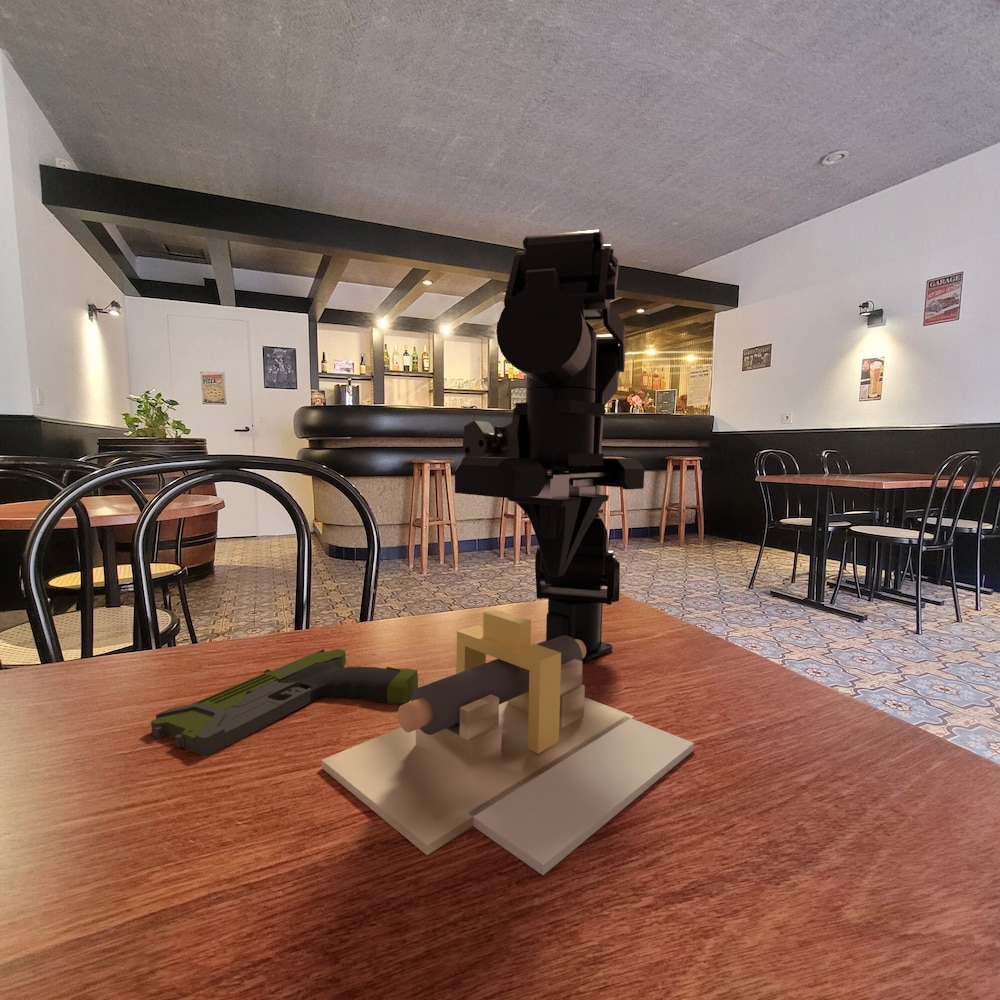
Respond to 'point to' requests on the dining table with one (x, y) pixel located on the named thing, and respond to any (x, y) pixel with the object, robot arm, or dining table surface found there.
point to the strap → (514, 646)
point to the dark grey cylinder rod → (474, 689)
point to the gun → (279, 699)
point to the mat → (580, 792)
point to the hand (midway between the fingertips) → (555, 575)
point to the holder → (463, 761)
